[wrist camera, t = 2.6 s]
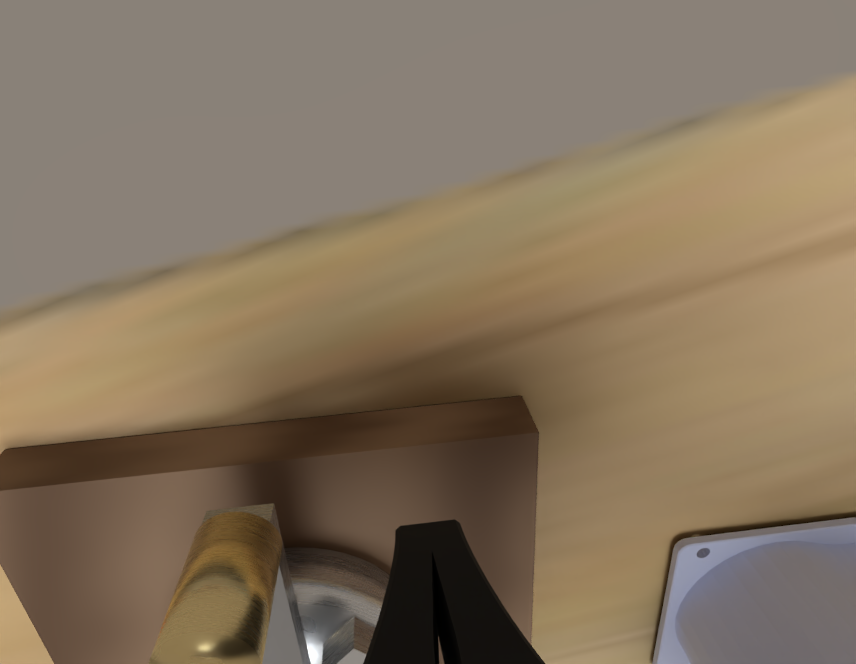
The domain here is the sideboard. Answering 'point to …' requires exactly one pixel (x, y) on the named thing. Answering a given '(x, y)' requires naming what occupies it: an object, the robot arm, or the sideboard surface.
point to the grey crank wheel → (267, 598)
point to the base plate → (256, 485)
